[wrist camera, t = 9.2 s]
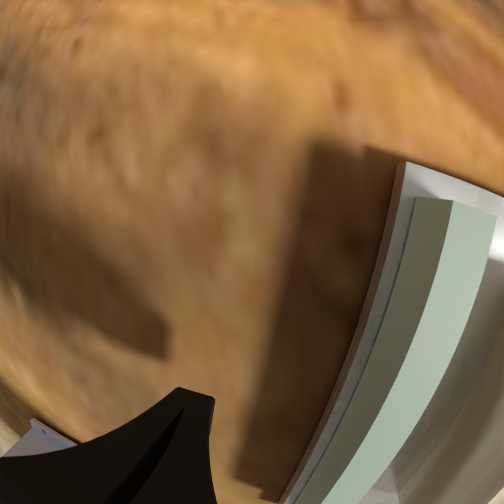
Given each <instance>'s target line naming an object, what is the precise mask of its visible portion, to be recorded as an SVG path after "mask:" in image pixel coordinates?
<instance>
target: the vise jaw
mask: <svg viewBox="0 0 504 504" xmlns="http://www.w3.org/2000/svg"><path fill="white" fill-rule="evenodd" d="M496 220H497V216H494V215H492V214H489V213H487V212H484V211H482V210H479V209H476V208H474V207H471V206H468V205H465V204H462V203H460V202H457V201H454V200H446V199H436V198H425V197H416V201H415V206H414V211H413V216H412V220H411V225H410V229H409V234H408V238H407V242H406V246H405V250H404V254H403V257H402V261H401V265H400V268H399V272H398V275H397V279H396V282H395V286H394V289H393V292H392V295H391V298H390V302H389V305H388V308H387V311H386V314H385V317H384V320H383V322H382V325H381V328H380V331H379V334H378V336H377V339H376V342H375V345H374V347H373V350H372V352H371V355H370V357H369V360H368V362H367V365H366V367H365V370H364V372H363V375H362V377H361V379H360V382H359V384H358V386H357V389H356V391H355V393H354V395H353V398H352V400H351V402H350V404H349V406H348V408H347V410H346V413H345V415H344V417H343V419H342V421H341V423H340V425H339V427H338V429H337V431H336V433H335V435H334V437H333V439H332V441H331V442H330V444H329V446H328V448H327V450H326V452H325V454H324V455H323V457H322V459H321V461H320V463H319V464H318V466H317V468H316V470H315V471H314V473H313V475H312V476H311V478H310V480H309V481H308V483H307V485H306V486H305V488H304V489H303V491H302V493H301V494H300V496H299V497H298V499H297V501H296V502H295V504H358V503H359V502H360V500H361V499H362V498H363V497H364V496H365V495H366V493H367V492H368V491H369V490H370V489H371V487H372V486H373V485H374V484H375V482H376V481H377V480H378V479H379V477H380V476H381V475H382V473H383V472H384V471H385V469H386V468H387V467H388V465H389V464H390V463H391V461H392V460H393V458H394V457H395V456H396V454H397V453H398V451H399V450H400V448H401V447H402V446H403V444H404V443H405V441H406V440H407V438H408V437H409V435H410V433H411V432H412V430H413V429H414V427H415V425H416V424H417V422H418V421H419V419H420V417H421V416H422V414H423V412H424V410H425V409H426V407H427V405H428V403H429V402H430V400H431V398H432V396H433V394H434V393H435V391H436V389H437V387H438V385H439V383H440V381H441V379H442V377H443V375H444V373H445V371H446V369H447V367H448V365H449V363H450V361H451V358H452V356H453V354H454V352H455V350H456V347H457V345H458V343H459V340H460V338H461V336H462V333H463V331H464V328H465V326H466V323H467V320H468V318H469V315H470V312H471V310H472V307H473V304H474V301H475V298H476V295H477V292H478V289H479V286H480V283H481V280H482V276H483V273H484V269H485V266H486V262H487V259H488V255H489V251H490V247H491V243H492V238H493V234H494V229H495V225H496Z"/></svg>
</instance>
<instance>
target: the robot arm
mask: <svg viewBox="0 0 504 504" xmlns="http://www.w3.org/2000/svg"><path fill="white" fill-rule="evenodd" d="M214 406H215V399H214V398H213V397H212V396H208V395H204V394H201V393H197V392H194V391H191V390H187V389H184V388H181V387H177V388H175V389H174V390H173V391H172V392H171V393H169V394H168V395H167V396H166V397H164V398H163V399H162V400H160V401H159V402H158V403H156V404H155V405H154V406H152V407H151V408H149V409H148V410H146V411H145V412H144V413H142V414H141V415H139V416H138V417H136V418H134V419H133V420H131V421H129V422H127V423H126V424H124V425H122V426H120V427H119V428H117V429H115V430H113V431H111V432H109V433H107V434H105V435H102V436H100V437H98V438H95V439H93V440H90V441H88V442H85V443H82V444H79V445H78V444H76V443H74V442H72V441H71V440H69V439H67V438H66V437H64V436H62V435H60V434H59V433H57V432H56V431H54V430H52V429H51V428H49V427H48V426H46V425H44V424H43V423H41V422H40V421H38V420H37V419H35V418H32V419H31V420H30V423H31V426H32V428H31V429H30V430H29V431H28V432H27V433H26V434H25V435H24V436H23V437H22V438H21V439H20V440H19V441H18V442H17V443H16V444H15V445H14V446H12V447H11V448H10V449H9V450H8V451H7V452H6V453H5V454H4V455H3V456H2V457H1V458H0V504H217V501H216V497H215V492H214V487H213V482H212V475H211V468H210V457H209V435H210V430H211V424H212V418H213V412H214Z"/></svg>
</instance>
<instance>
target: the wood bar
mask: <svg viewBox="0 0 504 504" xmlns="http://www.w3.org/2000/svg"><path fill="white" fill-rule="evenodd" d="M398 499H399V504H504V321H503V324H502V326H501V329H500V331H499V334H498V336H497V338H496V341H495V343H494V345H493V348H492V350H491V352H490V354H489V356H488V358H487V361H486V363H485V365H484V367H483V369H482V371H481V373H480V375H479V377H478V379H477V381H476V382H475V384H474V386H473V388H472V390H471V392H470V393H469V395H468V397H467V399H466V400H465V402H464V404H463V406H462V407H461V409H460V411H459V412H458V414H457V415H456V417H455V419H454V420H453V422H452V423H451V425H450V426H449V428H448V429H447V431H446V432H445V434H444V435H443V437H442V438H441V440H440V441H439V443H438V444H437V445H436V447H435V448H434V450H433V451H432V452H431V454H430V455H429V456H428V458H427V459H426V460H425V461H424V463H423V464H422V465H421V467H420V468H419V469H418V470H417V472H416V473H415V474H414V475H413V476H412V478H411V479H410V480H409V481H408V482H407V484H406V485H405V486H404V487H403V488H402V489H401V490H400V492H399V493H398Z"/></svg>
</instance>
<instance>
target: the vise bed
mask: <svg viewBox="0 0 504 504" xmlns="http://www.w3.org/2000/svg"><path fill="white" fill-rule="evenodd" d="M416 197H425V198H436V199H446V200H454V201H457V202H460V203H462V204H465V205H468V206H471V207H474V208H476V209H479V210H482V211H484V212H487V213H489V214H492V215H494V216H497V220H496V225H495V229H494V234H493V238H492V243H491V247H490V251H489V255H488V259H487V262H486V266H485V269H484V273H483V276H482V280H481V283H480V286H479V289H478V292H477V295H476V298H475V301H474V304H473V307H472V310H471V312H470V315H469V318H468V320H467V323H466V326H465V328H464V331H463V333H462V336H461V338H460V340H459V343H458V345H457V347H456V350H455V352H454V354H453V356H452V358H451V361H450V363H449V365H448V367H447V369H446V371H445V373H444V375H443V377H442V379H441V381H440V383H439V385H438V387H437V389H436V391H435V393H434V394H433V396H432V398H431V400H430V402H429V403H428V405H427V407H426V409H425V410H424V412H423V414H422V416H421V417H420V419H419V421H418V422H417V424H416V425H415V427H414V429H413V430H412V432H411V433H410V435H409V437H408V438H407V440H406V441H405V443H404V444H403V446H402V447H401V448H400V450H399V451H398V453H397V454H396V456H395V457H394V458H393V460H392V461H391V463H390V464H389V465H388V467H387V468H386V469H385V471H384V472H383V473H382V475H381V476H380V477H379V479H378V480H377V481H376V482H375V484H374V485H373V486H372V487H371V489H370V490H369V491H368V492H367V493H366V495H365V496H364V497H363V498H362V499H361V500H360V502H359V503H358V504H399V499H398V493H399V492H400V490H401V489H402V488H403V487H404V486H405V485H406V484H407V482H408V481H409V480H410V479H411V478H412V476H413V475H414V474H415V473H416V472H417V470H418V469H419V468H420V467H421V465H422V464H423V463H424V461H425V460H426V459H427V458H428V456H429V455H430V454H431V452H432V451H433V450H434V448H435V447H436V445H437V444H438V443H439V441H440V440H441V438H442V437H443V435H444V434H445V432H446V431H447V429H448V428H449V426H450V425H451V423H452V422H453V420H454V419H455V417H456V415H457V414H458V412H459V411H460V409H461V407H462V406H463V404H464V402H465V400H466V399H467V397H468V395H469V393H470V392H471V390H472V388H473V386H474V384H475V382H476V381H477V379H478V377H479V375H480V373H481V371H482V369H483V367H484V365H485V363H486V361H487V358H488V356H489V354H490V352H491V350H492V348H493V345H494V343H495V341H496V338H497V336H498V334H499V331H500V329H501V326H502V324H503V321H504V198H503V197H501V196H499V195H496V194H494V193H492V192H489V191H487V190H485V189H482V188H480V187H477V186H475V185H472V184H470V183H467V182H465V181H462V180H459V179H457V178H454V177H451V176H449V175H446V174H443V173H440V172H437V171H434V170H431V169H429V168H426V167H423V166H419V165H416V164H413V163H410V162H402V163H398V164H397V167H396V173H395V179H394V184H393V189H392V195H391V200H390V205H389V209H388V214H387V219H386V223H385V227H384V232H383V236H382V240H381V244H380V248H379V252H378V256H377V260H376V264H375V267H374V271H373V275H372V278H371V282H370V285H369V289H368V292H367V295H366V299H365V302H364V305H363V308H362V312H361V315H360V318H359V321H358V324H357V327H356V330H355V333H354V336H353V339H352V342H351V344H350V347H349V350H348V353H347V356H346V358H345V361H344V364H343V366H342V369H341V372H340V374H339V377H338V379H337V382H336V384H335V387H334V389H333V392H332V394H331V397H330V399H329V401H328V404H327V406H326V408H325V411H324V413H323V415H322V418H321V420H320V422H319V424H318V426H317V429H316V431H315V433H314V435H313V437H312V439H311V442H310V444H309V446H308V448H307V450H306V452H305V454H304V456H303V458H302V460H301V462H300V464H299V466H298V468H297V470H296V472H295V473H294V475H293V477H292V479H291V481H290V483H289V485H288V486H287V488H286V490H285V492H284V494H283V495H282V497H281V499H280V501H279V502H278V504H295V502H296V501H297V499H298V497H299V496H300V494H301V493H302V491H303V489H304V488H305V486H306V485H307V483H308V481H309V480H310V478H311V476H312V475H313V473H314V471H315V470H316V468H317V466H318V464H319V463H320V461H321V459H322V457H323V455H324V454H325V452H326V450H327V448H328V446H329V444H330V442H331V441H332V439H333V437H334V435H335V433H336V431H337V429H338V427H339V425H340V423H341V421H342V419H343V417H344V415H345V413H346V410H347V408H348V406H349V404H350V402H351V400H352V398H353V395H354V393H355V391H356V389H357V386H358V384H359V382H360V379H361V377H362V375H363V372H364V370H365V367H366V365H367V362H368V360H369V357H370V355H371V352H372V350H373V347H374V345H375V342H376V339H377V336H378V334H379V331H380V328H381V325H382V322H383V320H384V317H385V314H386V311H387V308H388V305H389V302H390V298H391V295H392V292H393V289H394V286H395V282H396V279H397V275H398V272H399V268H400V265H401V261H402V257H403V254H404V250H405V246H406V242H407V238H408V234H409V229H410V225H411V220H412V216H413V211H414V206H415V201H416Z"/></svg>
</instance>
